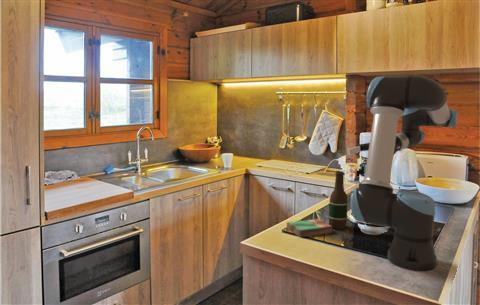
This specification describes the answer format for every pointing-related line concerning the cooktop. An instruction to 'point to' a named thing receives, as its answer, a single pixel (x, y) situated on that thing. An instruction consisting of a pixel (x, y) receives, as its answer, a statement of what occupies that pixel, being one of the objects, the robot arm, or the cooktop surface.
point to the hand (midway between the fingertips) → (360, 153)
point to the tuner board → (309, 227)
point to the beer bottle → (338, 204)
